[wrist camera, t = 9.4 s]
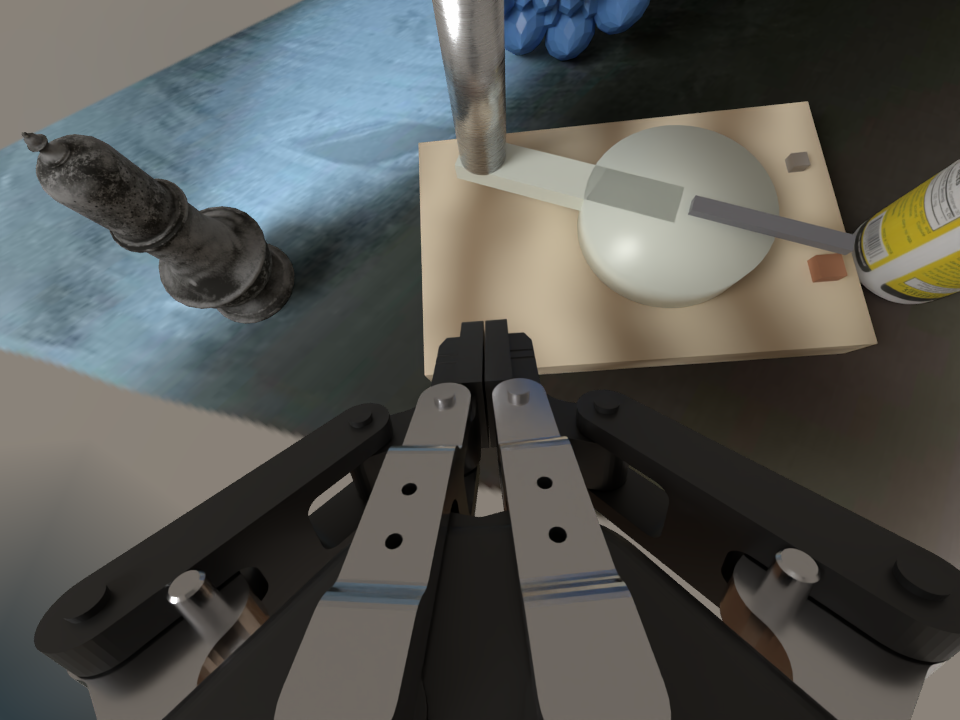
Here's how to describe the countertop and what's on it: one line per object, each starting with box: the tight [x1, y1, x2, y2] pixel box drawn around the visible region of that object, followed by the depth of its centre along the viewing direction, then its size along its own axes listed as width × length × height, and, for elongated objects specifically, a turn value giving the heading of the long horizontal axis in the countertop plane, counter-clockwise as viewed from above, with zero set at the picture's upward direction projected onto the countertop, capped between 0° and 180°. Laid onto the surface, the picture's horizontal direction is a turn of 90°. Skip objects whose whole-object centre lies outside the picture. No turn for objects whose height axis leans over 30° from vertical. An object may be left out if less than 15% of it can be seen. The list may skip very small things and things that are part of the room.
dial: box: [432, 0, 856, 308], centre depth 16 cm, size 19×9×10 cm, turn 70°
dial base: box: [419, 102, 878, 381], centre depth 22 cm, size 22×14×3 cm, turn 93°
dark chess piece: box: [22, 132, 294, 324], centre depth 19 cm, size 6×6×12 cm
